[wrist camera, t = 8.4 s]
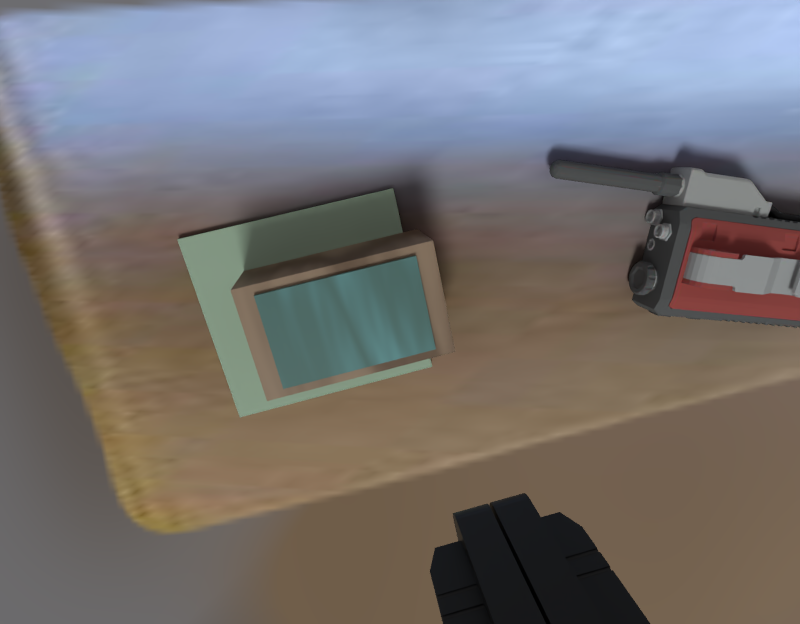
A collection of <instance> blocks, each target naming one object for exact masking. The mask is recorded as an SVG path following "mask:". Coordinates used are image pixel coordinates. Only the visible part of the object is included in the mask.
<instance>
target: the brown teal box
mask: <svg viewBox="0 0 800 624" xmlns="http://www.w3.org/2000/svg"><path fill="white" fill-rule="evenodd" d="M230 291H231V294H232V297H233V300H234V303H235V306H236V309H237V312H238V315H239V318H240V321H241V324H242V327H243V330H244V333H245V336H246V339H247V342H248V345H249V348H250V351H251V354H252V357H253V360H254V363H255V366H256V369H257V372H258V375H259V378H260V381H261V384H262V387H263V391H264V394H265V397H266V400H267V401H270V400H274V399H277V398H281V397H285V396H289V395H293V394H296V393H300V392H304V391H308V390H312V389H316V388H319V387H323V386H327V385H331V384H335V383H338V382H342V381H346V380H350V379H354V378H357V377H361V376H365V375H369V374H373V373H376V372H380V371H384V370H388V369H392V368H396V367H399V366H403V365H407V364H411V363H415V362H418V361H422V360H426V359H430V358H434V357H437V356H441V355H445V354H449V353H453V352H455V347H454V342H453V337H452V332H451V327H450V322H449V317H448V312H447V307H446V302H445V297H444V292H443V287H442V282H441V277H440V272H439V267H438V262H437V257H436V252H435V247H434V242H433V240H432V239H430V238H429V237H428V236H426V235H425V234H423V233H422V232H421V231H419V230H418V229H415V230H411V231H407V232H403V233H398V234H394V235H390V236H386V237H382V238H378V239H374V240H370V241H366V242H361V243H357V244H353V245H349V246H345V247H341V248H337V249H333V250H328V251H324V252H320V253H316V254H312V255H308V256H304V257H300V258H296V259H291V260H287V261H283V262H279V263H275V264H271V265H267V266H263V267H259V268H254V269H250V270H246V271H243V273H242V274H241V276H240V277H239V279H238V280H237V281H236V283H235V284H234V286H233V287H232V289H231V290H230Z"/></svg>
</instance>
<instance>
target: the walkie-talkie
mask: <svg viewBox="0 0 800 624" xmlns="http://www.w3.org/2000/svg"><path fill="white" fill-rule="evenodd" d="M550 174H551V176H552V177H554V178H556V179H563V180H571V181H578V182H585V183H592V184H600V185H607V186H614V187H621V188H629V189H636V190H643V191H650V192H652V193H653V194H655V195H662V196H664V198H663V202H662V205H660V206H658V207H656V208H655V209H654V210H649V211H648V212H647V214H646V217H645V219H646V222H647V223H651V227H650V231H649V235H648V239H647V243H646V247H645V251H644V255H643V259H642V261H639V262H638V263H636V264H635V265H634V266H633V268H632V269H631V271H630V275H629V286H630V289H631V290H632V292H633V293H634V294H633V298H632V300H633V301H634V302H635V303H636V304H637V305H638V306H640V307H643V308H645V309H647V310H649V312H651V313H654V314H656V315H658V316H669V317H671V316H677V317H686V318H690V319H709V320H720V321H722V320H725V321H730V320H731V321H734V322H738V321H740V322H742V323H745V322H748V323H756V324H760V323H762V324H764V325H767V324H770V325H773V326H774V325H778V326H786V327H790V326H792V327H795V328H797V327H800V216H797V215H791V214H785V213H780V212H779V211H778V210H777V209H776V208H774V207H772V203H773V202H766V201H765V199H764V198H763V196H762V195H761V194H760V192H759V191H758V189H757V188H756V187H755V185H754V184H753V182H752V181H750V180H749V179H745V178H739V177H733V176H726V175H720V174H713V173H707V172H704V171H703V170H702V169H699V168H691V167H673V168H672V169H671V171H670V173H663V172H659V173H657V174H654V173H647V172H640V171H633V170H626V169H620V168H613V167H606V166H599V165H592V164H585V163H578V162H571V161H564V160H556V161H555V162H553V163H552V164H551V166H550ZM768 216H770V217H773V218H776V219H773V218H767V217H768ZM765 217H766V218H765ZM780 219H781V220H780ZM795 221H796V222H795Z"/></svg>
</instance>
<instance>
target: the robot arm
mask: <svg viewBox="0 0 800 624" xmlns="http://www.w3.org/2000/svg"><path fill="white" fill-rule="evenodd" d="M453 518H454V523H455V528H456V532H457V537H458V542H454V543H451V544H447V545H444V546H440V547H437V548H435V551H434V555H433V560H432V564H431V569H430V573H431V577H432V581H433V585H434V589H435V593H436V597H437V601H438V605H439V609H440V613H441V617H442V621H443V624H650V623H649V621H648V620H647V618H646V617H645V616H644V614H643V613H642V611H641V610H640V608H639V607H638V605H637V604H636V603H635V601H634V600H633V598H632V597H631V596H630V594H629V593H628V591H627V590H626V589H625V587H624V586H623V584H622V583H621V581H620V580H619V578H618V577H617V576H616V575H615V573H614V571H611V569H610V566H609V564H608V563H607V561H606V560H605V559H604V557H603V556H602V554H601V553H600V552H598V550H597V547H596V546H595V544H594V543H593V542H592V540H591V539H590V537H589V536H588V534H587V533H586V532H585V530H584V529H583V527H582V526H580V525H579V524H577V523H575V522H574V521H572V520H571V519H569V518H568V517H566V516H565V515H563V514H562V513H560V512H558V513H555V514H551V515H548V516H544V517H540V515H539V513H538V512H537V510H536V509H535V507H534V505H533V504H532V502H531V500H530V499H529V497H528V496H527V495H526V494H525V493H523V494H519V495H516V496H512V497H509V498H505V499H502V500H498V501H494V502H491V503H490V506H489V505H488V504H484V505H481V506H477V507H474V508H470V509H467V510H463V511H460V512H456V513H453Z"/></svg>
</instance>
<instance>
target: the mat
mask: <svg viewBox="0 0 800 624" xmlns="http://www.w3.org/2000/svg"><path fill="white" fill-rule="evenodd" d="M398 233H403V231H402V226H401V222H400V217H399V212H398V208H397V203H396V199H395V194H394V189H393V188H391V189H387V190H383V191H379V192H374V193H370V194H366V195H362V196H358V197H353V198H349V199H345V200H341V201H336V202H332V203H328V204H324V205H319V206H315V207H311V208H307V209H303V210H298V211H294V212H290V213H286V214H281V215H277V216H273V217H269V218H264V219H260V220H256V221H252V222H248V223H243V224H239V225H235V226H231V227H226V228H222V229H218V230H214V231H209V232H205V233H201V234H197V235H193V236H188V237H184V238H180V239H177V240H178V243H179V246H180V248H181V251H182V254H183V257H184V260H185V263H186V265H187V268H188V271H189V274H190V277H191V280H192V282H193V285H194V288H195V291H196V294H197V297H198V300H199V302H200V305H201V308H202V311H203V314H204V317H205V319H206V322H207V325H208V328H209V331H210V334H211V336H212V339H213V342H214V345H215V348H216V351H217V354H218V356H219V359H220V362H221V365H222V368H223V371H224V373H225V376H226V379H227V382H228V385H229V388H230V390H231V393H232V396H233V399H234V402H235V405H236V408H237V410H238V413H239V416H240V417H243V416H247V415H250V414H254V413H258V412H262V411H266V410H269V409H273V408H277V407H281V406H285V405H288V404H292V403H296V402H300V401H303V400H307V399H311V398H315V397H319V396H322V395H326V394H330V393H334V392H338V391H341V390H345V389H349V388H353V387H357V386H360V385H364V384H368V383H372V382H375V381H379V380H383V379H387V378H391V377H394V376H398V375H402V374H406V373H410V372H413V371H417V370H421V369H425V368H429V367H432V364H431V360H430V359H426V360H422V361H418V362H415V363H411V364H407V365H403V366H399V367H396V368H392V369H388V370H384V371H380V372H376V373H373V374H369V375H365V376H361V377H357V378H354V379H350V380H346V381H342V382H338V383H335V384H331V385H327V386H323V387H319V388H316V389H312V390H308V391H304V392H300V393H296V394H293V395H289V396H285V397H281V398H277V399H274V400H270V401H267V400H266V397H265V394H264V391H263V387H262V384H261V381H260V378H259V375H258V372H257V369H256V366H255V363H254V360H253V357H252V354H251V351H250V348H249V345H248V342H247V339H246V336H245V333H244V330H243V327H242V324H241V321H240V318H239V315H238V312H237V309H236V306H235V303H234V300H233V297H232V294H231V291H230V290H231V289H232V287H233V286H234V284H235V283H236V281H237V280H238V279H239V277H240V276H241V274H242V273H243V271H246V270H250V269H254V268H259V267H263V266H267V265H271V264H275V263H279V262H283V261H287V260H291V259H296V258H300V257H304V256H308V255H312V254H316V253H320V252H324V251H328V250H333V249H337V248H341V247H345V246H349V245H353V244H357V243H361V242H366V241H370V240H374V239H378V238H382V237H386V236H390V235H394V234H398Z"/></svg>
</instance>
